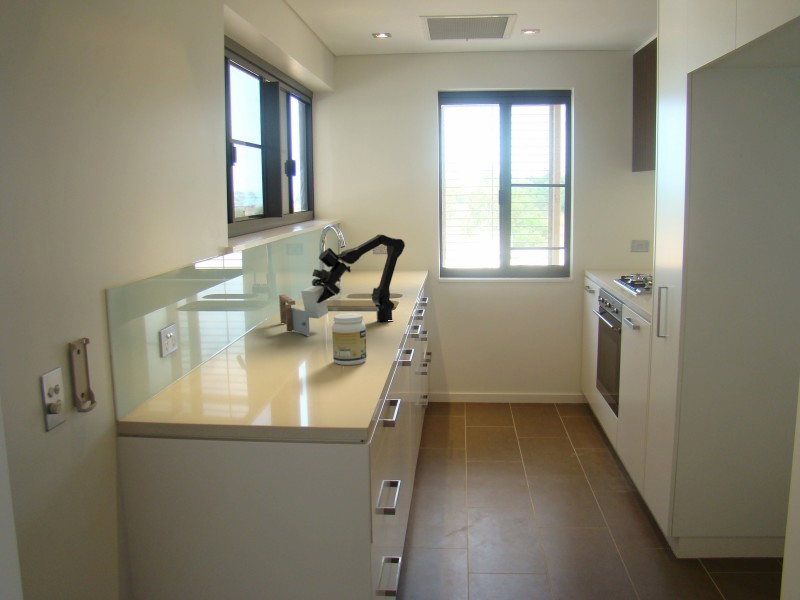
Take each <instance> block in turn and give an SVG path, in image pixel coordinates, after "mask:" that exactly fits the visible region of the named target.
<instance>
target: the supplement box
mask: <svg viewBox="0 0 800 600" xmlns="http://www.w3.org/2000/svg"><path fill="white" fill-rule="evenodd" d="M323 291H324V289H323V286H313V285H311V286H309V287H307V288H305V289H303V290H301V291H300V292H301V297H302V301H303V308H304V311H306V312H309V319H320V318H322V317H323V316H326V315H327V314H329V309H328V304H327V303H328V302H327V299H326V300H324V301H322V302H321V303H318V302H317V301H318V299H319V298H320V296H321V294H322V293H323Z"/></svg>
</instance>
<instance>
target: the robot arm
mask: <svg viewBox="0 0 800 600" xmlns="http://www.w3.org/2000/svg"><path fill="white" fill-rule="evenodd" d="M381 245H383V246H386V255H387V256H386V259H385V263H384V264H385V265H384V267H383V272H382V274H381V278H380V282H379V284H378V286H377V287H373V289H372V294H371V301H372V303H373V304H374V305H375V308H377V311H376V321H378V322H379V321H388V320H393V309H394V308H395V307H394V306H395V303H394V302H393V301H391V299H390V297H391V292H390V286H391V282H392V279H393V276H394V272H395V268H396V265H397V262H398V259H399V257H400V256H401V255H402V253H403V251H404V249H405V247H406V243H405V241H404V240H403V239H401V238H393V237H389V236H387V235H385V234H377V235H376V236H374V237H372V238H371V239H369V240H367V241H366V242H364V243H362V244H360V245H357V246H355V247H352V248H349V249H348V248H347V249H346V250H343V251H342V252H341V253H338V254H336V252H334V251H333V249H332V248H330V247H328V248H326V250H323V252H321V253H320V254H319V256H318V260H320V261H321V262H322V264H324V265H325V266H326V267H327V268H330V270H326V269H325V268H324V269H321V270H320V269H315V268H314V269H313V272H312V277H315V278H313V279H312V280H311V286H323V289H324V291H323V293H322V294H321V296H320V298H319V299H318V301H317V302H318V303H321V302H322V301H324V300H326V301H327V300H328V299H331V298H332V297H335V296H336V295H339V293H340V291H341V290H340V288H339V286H337V285H336V284H337V283H338V282H341V278H342V276H343V275H344V274H345V272H347V273H351V270H352V269H351V266H350V265H354V264H355V263H356V262H357V261H359V260H360V259H361V257H362V256H363V255H365V254H366V253H368V252H370V251H372V250H373V249H375V248H377V247H379V246H381ZM340 261H341V262H340ZM346 264H347V265H346Z"/></svg>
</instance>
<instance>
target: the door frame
mask: <svg viewBox="0 0 800 600" xmlns="http://www.w3.org/2000/svg"><path fill="white" fill-rule="evenodd" d="M278 299H279V301H278V302H279V314H280V315H279V316H280V324H281V323H286V324H285V325H286V332H287V331H293V330H292V313H291V308H292V306H294V305H296V300H294V299H292V298H291V297H289V296H287V295H285V294H279V295H278Z"/></svg>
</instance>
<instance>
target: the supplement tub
mask: <svg viewBox="0 0 800 600" xmlns="http://www.w3.org/2000/svg"><path fill="white" fill-rule="evenodd" d="M363 317H364V315H363V314H361V313H355V312H354V313H341V314H339V313H338V314H336V315H333V322H334V323H333V324H332V325H331V335H332V355H333V356H332V359H333V362H334V363H335V364H337V365H341V366H354V365H359V364H363V363H365V362H366V361H367V359H368V358H367V356H368V354H367V335H366V334H367V333H366V332H367V330H366V324H365V322H364V318H363Z"/></svg>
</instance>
